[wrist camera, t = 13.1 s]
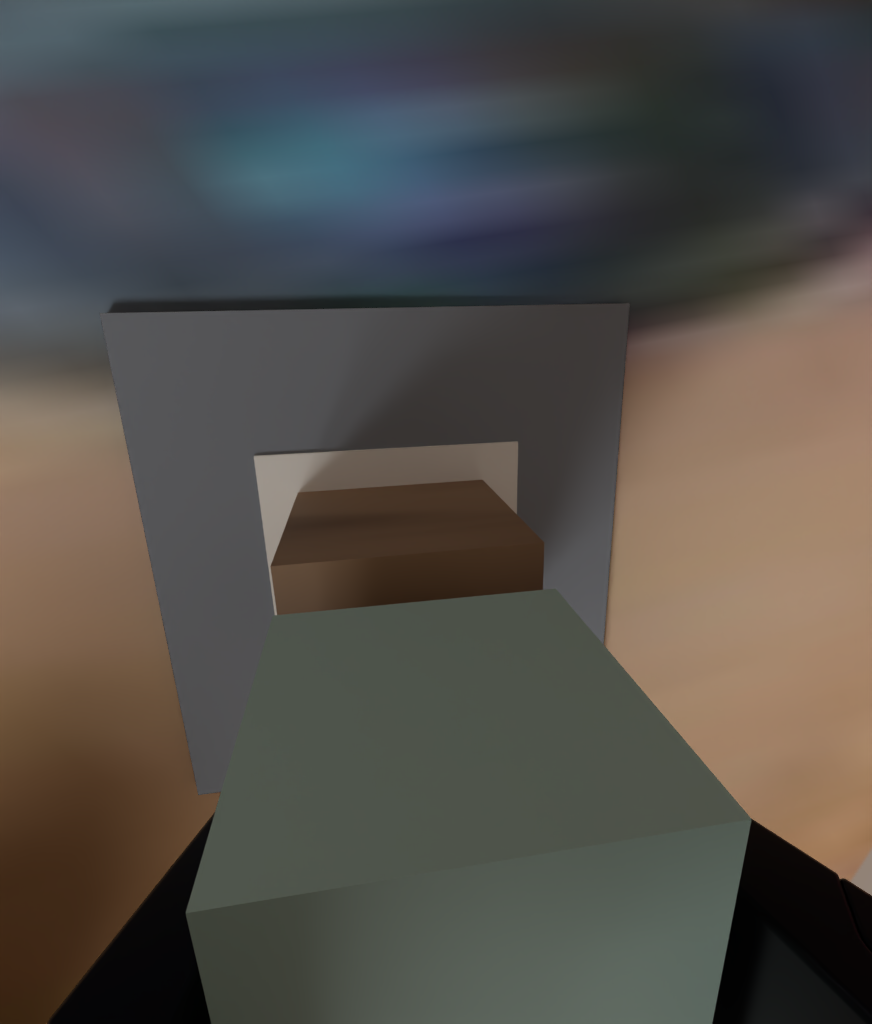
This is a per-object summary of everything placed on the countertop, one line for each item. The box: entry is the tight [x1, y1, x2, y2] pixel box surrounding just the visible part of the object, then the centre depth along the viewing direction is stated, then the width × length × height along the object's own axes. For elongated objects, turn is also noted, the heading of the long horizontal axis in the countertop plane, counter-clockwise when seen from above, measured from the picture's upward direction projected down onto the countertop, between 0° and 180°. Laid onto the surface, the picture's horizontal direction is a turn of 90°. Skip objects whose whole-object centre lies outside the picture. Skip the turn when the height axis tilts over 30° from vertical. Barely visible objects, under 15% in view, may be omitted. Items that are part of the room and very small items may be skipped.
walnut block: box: [270, 480, 544, 615], centre depth 13 cm, size 5×5×5 cm
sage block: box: [186, 589, 752, 1024], centre depth 7 cm, size 4×4×4 cm
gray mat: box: [100, 303, 630, 795], centre depth 15 cm, size 14×13×1 cm
